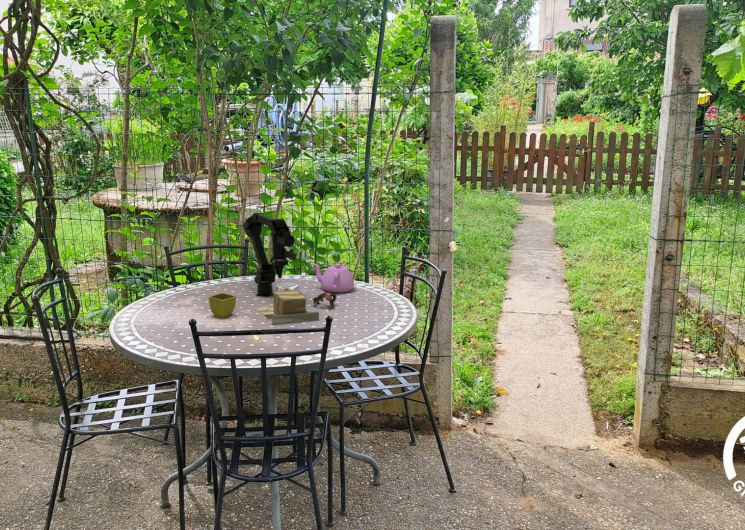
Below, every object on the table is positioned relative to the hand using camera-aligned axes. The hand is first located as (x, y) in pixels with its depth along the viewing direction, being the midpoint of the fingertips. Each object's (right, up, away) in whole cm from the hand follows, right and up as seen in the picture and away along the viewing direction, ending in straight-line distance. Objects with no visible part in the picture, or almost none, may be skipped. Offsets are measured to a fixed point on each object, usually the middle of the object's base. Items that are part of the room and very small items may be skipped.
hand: (280, 278), depth 309 cm
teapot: (+23, -7, +29) cm, 38 cm away
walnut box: (+7, -16, -20) cm, 27 cm away
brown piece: (+22, -14, -2) cm, 26 cm away
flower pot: (-22, -16, -21) cm, 35 cm away
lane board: (+5, -16, -16) cm, 23 cm away
